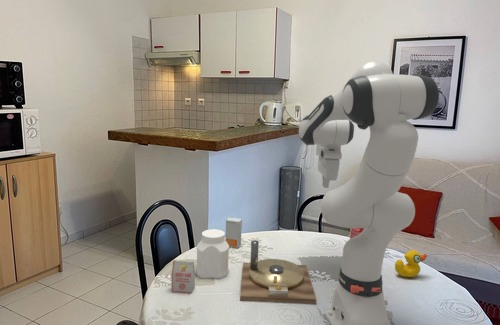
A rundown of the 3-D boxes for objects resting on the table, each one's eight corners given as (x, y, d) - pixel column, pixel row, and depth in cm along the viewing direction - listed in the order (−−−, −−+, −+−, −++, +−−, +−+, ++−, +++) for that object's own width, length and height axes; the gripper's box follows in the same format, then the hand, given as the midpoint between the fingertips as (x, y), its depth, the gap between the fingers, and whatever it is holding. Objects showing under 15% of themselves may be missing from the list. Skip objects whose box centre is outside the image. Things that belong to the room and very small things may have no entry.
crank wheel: (314, 283, 124) (316, 249, 121) (266, 294, 115) (268, 259, 113) (284, 260, 140) (285, 231, 138) (240, 269, 131) (241, 238, 129)
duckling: (419, 272, 138) (422, 248, 137) (427, 279, 133) (430, 254, 131) (391, 272, 137) (393, 248, 135) (398, 279, 132) (401, 254, 130)
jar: (194, 278, 127) (195, 237, 125) (198, 265, 137) (199, 227, 134) (227, 279, 127) (228, 239, 125) (229, 267, 137) (230, 229, 134)
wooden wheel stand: (316, 304, 114) (317, 291, 113) (240, 300, 114) (240, 287, 113) (306, 269, 137) (306, 258, 137) (242, 266, 138) (243, 255, 137)
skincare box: (224, 246, 155) (225, 219, 153) (228, 242, 159) (229, 216, 157) (238, 248, 154) (239, 221, 152) (241, 245, 158) (242, 218, 156)
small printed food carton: (174, 286, 121) (174, 258, 120) (194, 287, 121) (195, 259, 119) (171, 291, 118) (171, 263, 116) (191, 293, 117) (192, 264, 115)
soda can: (364, 247, 160) (366, 221, 158) (367, 254, 153) (370, 227, 151) (347, 246, 161) (350, 220, 159) (350, 253, 154) (353, 226, 152)
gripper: (315, 147, 145) (312, 180, 147) (324, 154, 125) (321, 193, 127) (331, 147, 145) (328, 181, 147) (343, 155, 125) (339, 194, 127)
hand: (325, 187), depth 137 cm, fingers closed
